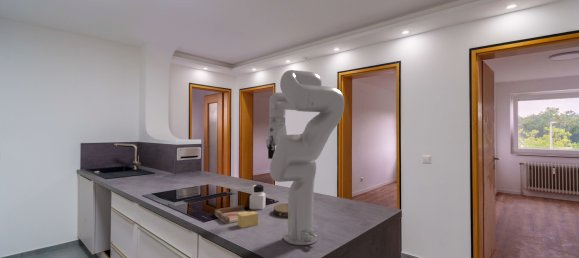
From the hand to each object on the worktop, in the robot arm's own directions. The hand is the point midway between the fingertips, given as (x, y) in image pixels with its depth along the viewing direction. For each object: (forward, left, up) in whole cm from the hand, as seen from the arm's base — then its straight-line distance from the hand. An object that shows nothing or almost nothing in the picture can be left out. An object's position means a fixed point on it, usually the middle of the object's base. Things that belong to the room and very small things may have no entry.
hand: (277, 157), depth 128 cm
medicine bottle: (+21, -1, -28) cm, 35 cm away
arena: (+13, +15, -28) cm, 34 cm away
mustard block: (-1, +15, -28) cm, 32 cm away
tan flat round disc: (+4, -10, -29) cm, 30 cm away
